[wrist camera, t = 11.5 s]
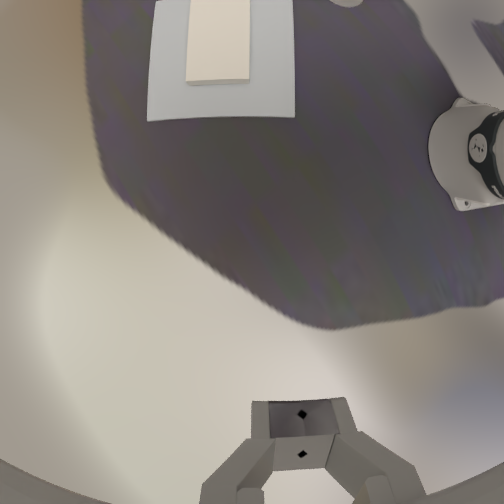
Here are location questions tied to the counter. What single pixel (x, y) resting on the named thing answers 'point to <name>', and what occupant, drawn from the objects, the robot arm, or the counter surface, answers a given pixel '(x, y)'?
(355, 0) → the cylindrical container
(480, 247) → the counter surface
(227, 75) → the tile
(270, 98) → the mat
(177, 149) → the counter surface
